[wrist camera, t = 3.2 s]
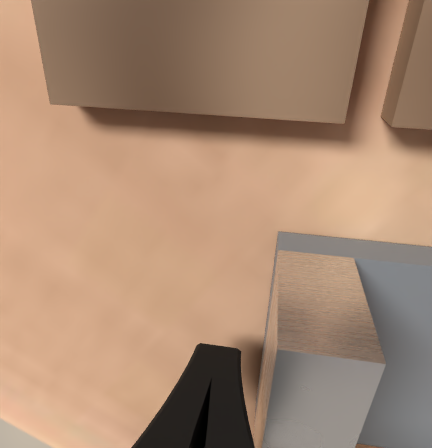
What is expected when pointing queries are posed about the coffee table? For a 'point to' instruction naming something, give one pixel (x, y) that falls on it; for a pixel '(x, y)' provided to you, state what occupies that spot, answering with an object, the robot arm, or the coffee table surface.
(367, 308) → the grey tray
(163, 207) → the coffee table surface
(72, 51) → the broken strip
